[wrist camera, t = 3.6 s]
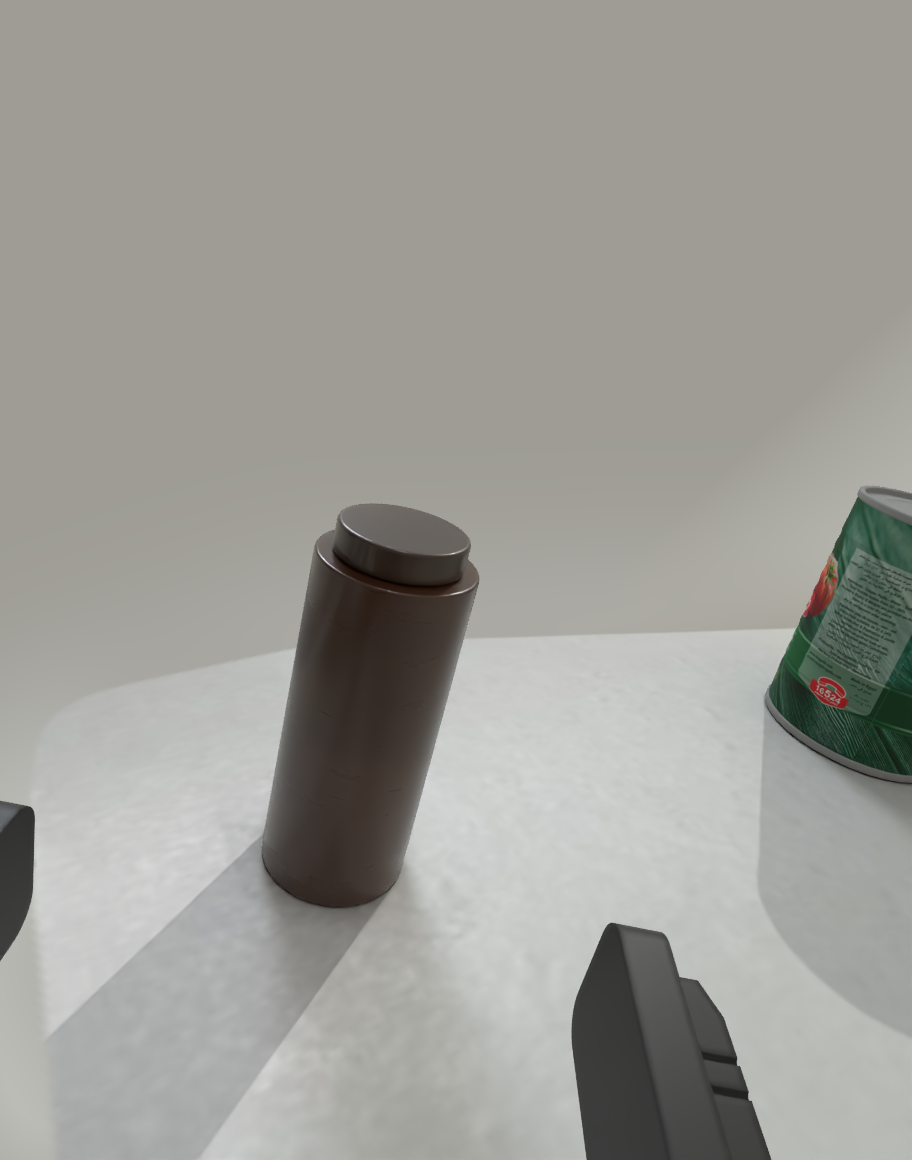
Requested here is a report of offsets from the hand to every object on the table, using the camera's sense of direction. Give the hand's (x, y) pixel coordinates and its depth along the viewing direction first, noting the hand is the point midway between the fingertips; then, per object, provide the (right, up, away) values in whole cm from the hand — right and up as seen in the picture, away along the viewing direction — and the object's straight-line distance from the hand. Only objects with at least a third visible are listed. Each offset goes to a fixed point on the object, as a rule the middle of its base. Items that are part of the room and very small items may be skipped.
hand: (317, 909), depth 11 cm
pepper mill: (-2, -3, +11) cm, 12 cm away
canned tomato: (+21, -3, +26) cm, 33 cm away
